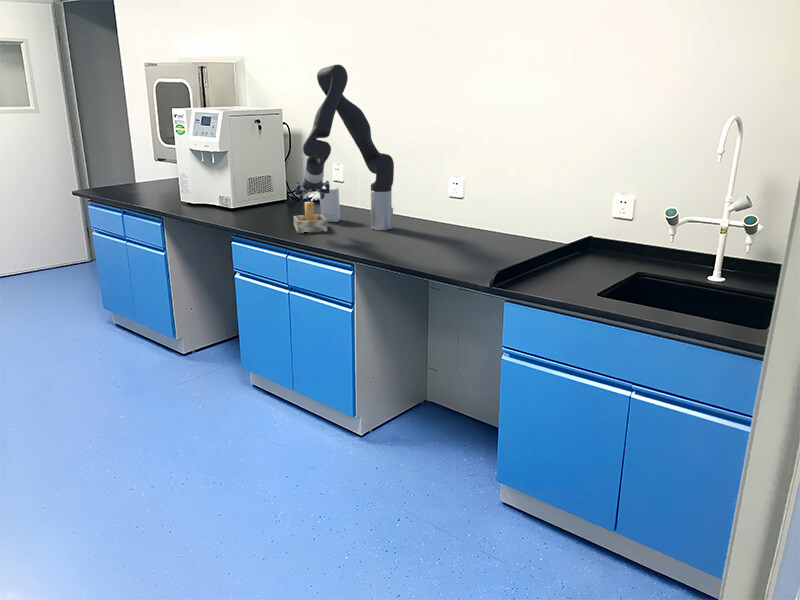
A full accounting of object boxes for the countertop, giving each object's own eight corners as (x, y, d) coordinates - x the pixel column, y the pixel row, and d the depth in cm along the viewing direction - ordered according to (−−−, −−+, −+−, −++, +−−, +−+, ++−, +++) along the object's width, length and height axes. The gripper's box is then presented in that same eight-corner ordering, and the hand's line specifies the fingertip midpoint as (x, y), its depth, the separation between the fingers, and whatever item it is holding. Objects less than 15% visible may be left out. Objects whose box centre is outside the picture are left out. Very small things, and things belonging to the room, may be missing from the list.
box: (322, 225, 291) (321, 214, 289) (327, 231, 279) (326, 220, 277) (294, 226, 287) (293, 216, 286) (297, 233, 276) (297, 221, 274)
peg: (314, 227, 285) (312, 201, 281) (315, 229, 282) (314, 203, 278) (305, 228, 284) (304, 202, 280) (306, 230, 281) (305, 203, 277)
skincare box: (340, 219, 303) (339, 187, 298) (337, 222, 297) (336, 189, 291) (323, 219, 304) (322, 186, 298) (320, 222, 297) (319, 189, 292)
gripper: (329, 167, 261) (326, 190, 275) (295, 168, 257) (293, 192, 271) (332, 181, 258) (329, 204, 272) (297, 183, 254) (296, 206, 268)
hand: (311, 198), depth 271 cm, fingers open, 8 cm apart
